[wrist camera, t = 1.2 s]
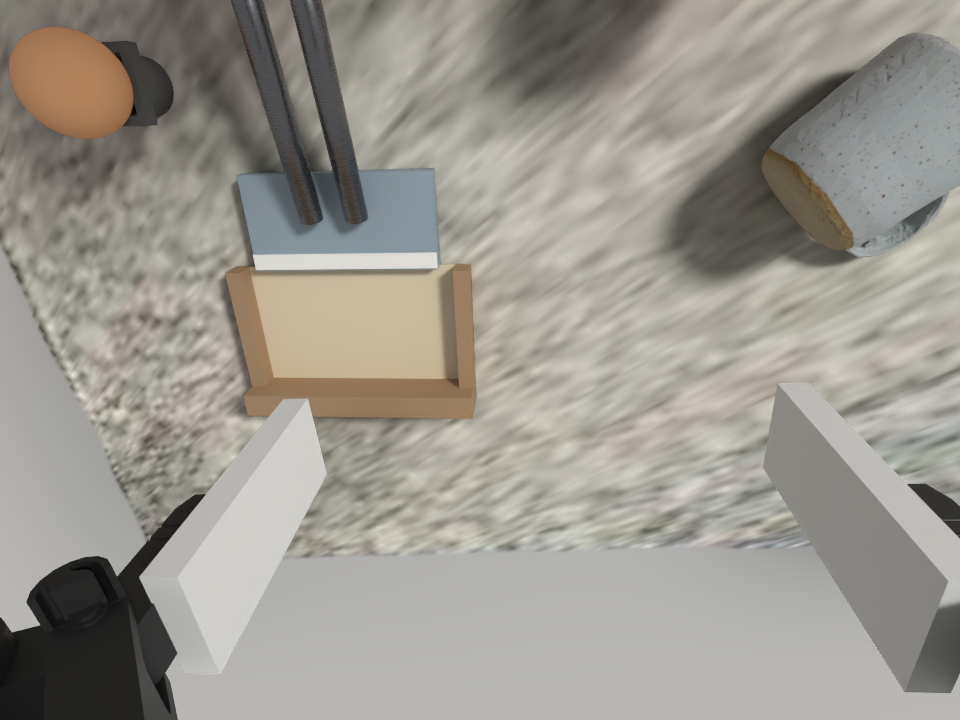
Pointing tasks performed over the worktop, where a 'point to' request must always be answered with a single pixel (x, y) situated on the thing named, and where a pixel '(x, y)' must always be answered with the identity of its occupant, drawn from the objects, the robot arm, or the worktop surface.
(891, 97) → the ceramic mug
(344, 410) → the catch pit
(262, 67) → the ramp
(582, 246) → the worktop surface
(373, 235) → the block
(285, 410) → the robot arm
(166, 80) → the tee
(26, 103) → the ball
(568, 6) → the worktop surface
